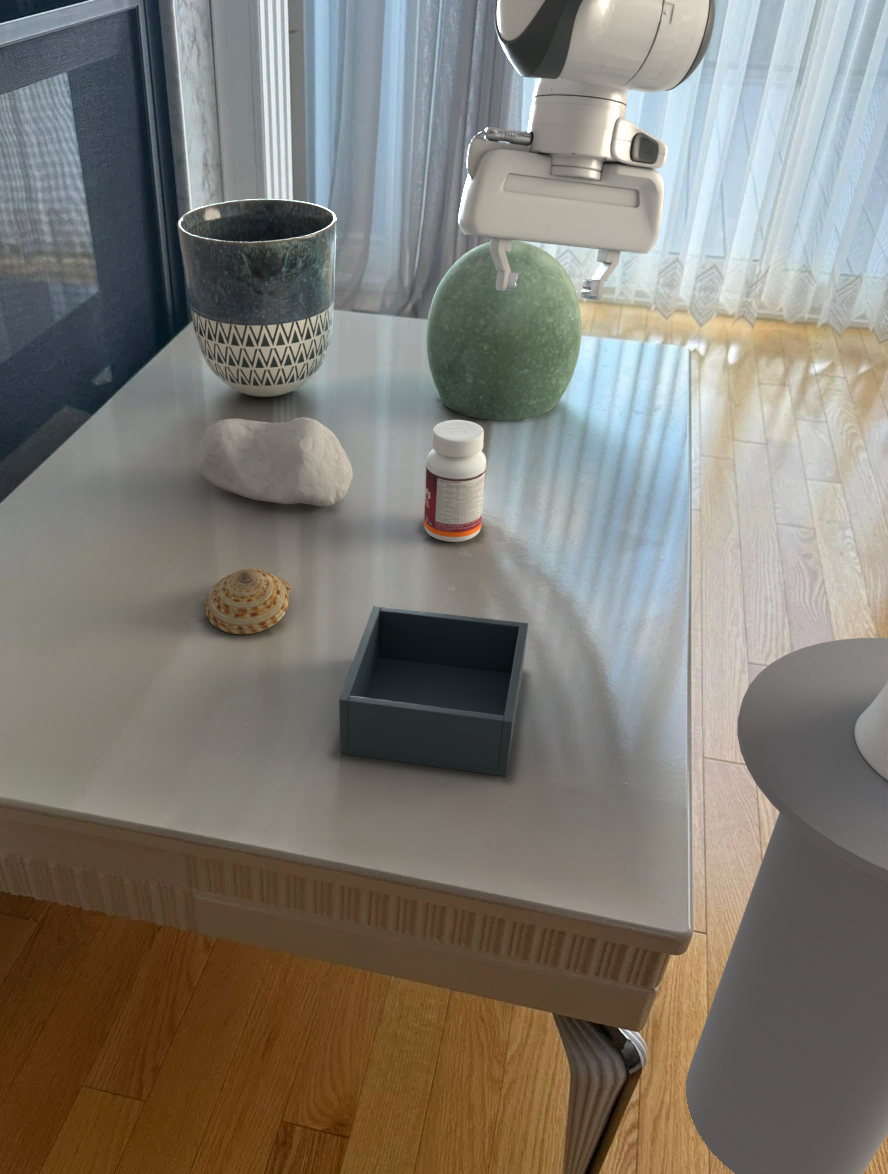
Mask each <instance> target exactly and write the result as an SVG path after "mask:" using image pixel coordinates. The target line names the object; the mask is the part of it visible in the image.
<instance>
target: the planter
mask: <svg viewBox="0 0 888 1174" xmlns="http://www.w3.org/2000/svg"><path fill="white" fill-rule="evenodd" d="M176 225H177V233H178V234H177V235H178V241H179V248H180V253H181V258H182V265H183V270H184V277H185V284H186V290H187V295H188V302H189V308H190V313H191V320H192V324H193V330H194V334H195V338H196V341H197V344H198V347H199V350H200V352H201V355H202V357H203V359H204V361H205V362H206V364H207V366H208V367H209V369H210V370H211V371H212V373H214V375H215V376H216V377H217V378H219V380H220V381H222V382H223V383H224V384H225V385H227V386H229V387H230V388H231V389H233V390H235V391H237V392H238V393H242V394H243V395H247V396H251V397H258V398H259V397H260V398H271V397H272V398H273V397H278V396H282V395H286V394H289V393H292V392H294V391H296V390H297V389H299V388H301V387H302V386H304V385H305V384H306V383H308V381H310V380H311V379H312V378H313V376H315V374H316V373H317V371H318V370H319V369H320V368H321V366H322V365H323V363H324V361H325V359H326V358H327V354H328V352H329V351H328V350H329V347H330V344H331V339H332V335H333V328H334V313H335V312H334V309H335V290H336V289H335V287H336V285H335V284H336V253H337V252H336V251H337V217H336V214H335V213H334V212H333V211H331V210H330V209H328V208H326V207H324V206H321V205H319V204H314V203H311V202H305V201H300V200H291V199H278V198H277V199H275V198H265V199H264V198H257V199H256V198H255V199H253V198H252V199H241V200H239V199H238V200H231V201H224V202H218V203H213V204H209V205H208V204H207V205H205V206H201V207H198V208H195V209H193V210H191V211H188V212H187V213H185V214H183V215H182V216H180V218H179V219H178V221H177V223H176Z"/></svg>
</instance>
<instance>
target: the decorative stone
mask: <svg viewBox="0 0 888 1174" xmlns="http://www.w3.org/2000/svg"><path fill="white" fill-rule="evenodd" d="M197 457H198V459H197V460H198V468H199V471H200V473H201V475H202V476H203V478H205V479H206V480H207V481H208V482H209V483H210V484H211V485H213V486H215V487H217V488H220V489H222V490H224V491H227V492H230V493H233V494H234V495H238V496H241V497H243V498H247V499H250V500H253V501H261V502H267V503H268V502H269V503H276V504H281V505H282V504H283V505H293V504H295V505H296V504H304V505H311V506H318V507H322V508H324V507H331V506H333V505H334V504H336V503H339V502H340V501H341V500H342V499H343V498H345V496H346V495H347V493H348V491H349V488H350V486H351V483H352V480H353V477H354V472H353V468H352V465H351V462H350V460H349V457H348V455H347V452H346V450H344V448H343V446H342V444H341V442H340V441H339V439H338V438H337V436H336V435H335V434H334V433H333V432H332V431H331V429H329V428H328V427H327V426H326V425H324V424H322V423H321V422H319V420H316V419H314V418H312V417H305V416H304V417H297V418H294V419H293V420H289V421H287V422H285V421H284V422H270V421H269V422H268V421H259V420H248V419H243V418H234V417H233V418H224V419H221V420H217V421H215V422H214V423H212V424H211V425H210V426H209V427H208V428H207V429H206V430H205V432H204V434H203V437H202V440H201V442H200V445H199V449H198V456H197Z"/></svg>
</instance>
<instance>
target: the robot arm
mask: <svg viewBox="0 0 888 1174" xmlns="http://www.w3.org/2000/svg"><path fill="white" fill-rule="evenodd" d="M715 17H716V0H496V1H495V6H494V27H495V32H496V35H497V38H498V41H499V43H500V45H501V47H502V49H503V52H504V53H505V55H506V57H507V59H508V60H509V62H510V63H511V65H512V66H513V68H514V69H515V70H516V72H517V73H518V74H519V75H520V76H521V77H523V78H528V79H529V78H531V79H537V82H536V85H535V87H534V90H533V93H532V97H531V98H532V101H531V106H530V110H529V111H530V112H529V120H528V127H527V131H523V130H515V129H514V130H506V129H501V128H500V127H493V126H492V127H491V126H490V127H486V128H485V129H484V131H480V132H478V133H476V134H475V135H474V136H473V138H472V139H471V140H470V142H469V144H468V149H467V157H466V170H467V177H466V180H465V184H464V188H463V192H462V196H461V202H460V207H459V212H458V219H457V223H458V226H459V228H460V230H461V232H462V233H463V235H466V236H475V237H484V238H490V242H491V244H490V253H491V256H492V259H493V261H494V264H495V267H496V270H498V272H497V280H496V290H500V291H511V292H514V291H515V289H516V283H515V282H516V281H517V277H518V273H516V272H511V270H510V267H509V264H508V260H507V257H506V254H505V252H510V251H511V247H512V241H513V240H519V241H523V242H527V243H537V244H547V245H556V246H565V247H576V248H583V249H592V250H597V256H596V262H597V263H600V265H599V266H598V268H596V270H595V272H594V273H593V275H592V277H591V278H590V279H583V280H582V288H583V289H582V290H581V293H580V297H581V298H582V299H585V300H586V299H587V300H596V301H600V300H601V299H602V297H603V293H604V287H605V282H607V280H608V279H609V278H610V276H611V275H612V273H613V272H614V271H615V270H616V268H617V267H618V266H619V262H620V258H621V253H629V254H638V255H646V254H649V252H651V250H652V249H653V248H654V247H655V246H656V245H657V243H658V239H659V236H660V230H661V225H662V218H663V211H664V202H665V183H664V178H663V176H662V175H661V173H659V171H658V170H657V169H661V168H663V167H664V166H665V165H666V162H667V159H668V155H669V148H668V145H667V144H666V143H665V142H664V141H662V140H660V139H659V138H657V137H655V136H654V135H652V134H651V133H649V132H647V131H645V130H644V129H642V128H641V127H639V126H638V125H636V124H634V123H633V122H632V121H630V120H628V119H627V118H626V114H627V108H628V92H629V90H630V91H634V92H635V91H636V92H643V93H659V92H668V91H672V90H674V89H676V88H677V87H679V86H680V85H681V84H683V83H684V82H685V81H687V79H688V78H689V77H691V75H692V74H693V73H694V72H695V71H696V69H697V68H698V67H699V65H700V64H701V63H702V61H703V59H704V57H705V55H706V53H707V51H708V48H709V46H710V42H711V39H712V36H713V30H714V25H715ZM482 137H483V138H484V139H481V138H482ZM854 734H855V740H856V744H857V746H858V749H859V751H860V752H861V754H862V756H863V757H864V758H865V760H866V761H867V762H868V764H869V765H870V766H871V767H872V768H873V769H874V770H875V771H876V772H877V773H878V774H880V775H881V776H882V777H883V778H885V779H886V780H887V781H888V681H887V683H886V684H885V686H884V687H883V689H882V690H881V692H880V693H879V694H878V696H877V697H876V698H875V700H874V701H873V702H872V703H871V704H870V706H869V707H868V708H867V709H866V710H865V711H864V712H863V713H862V714H861V715H860V716H859V718H858V720H857V722H856V724H855V730H854Z"/></svg>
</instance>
